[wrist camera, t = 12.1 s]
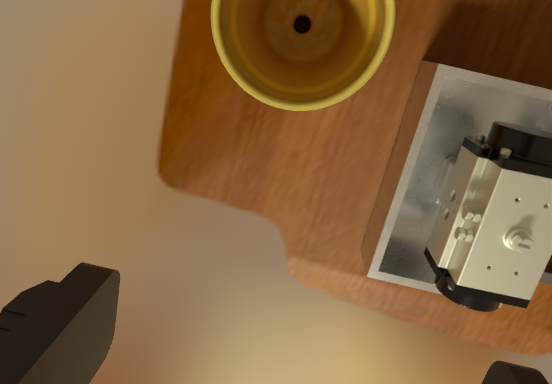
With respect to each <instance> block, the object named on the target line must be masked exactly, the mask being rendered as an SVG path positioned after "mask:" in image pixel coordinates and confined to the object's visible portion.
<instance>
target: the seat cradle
mask: <svg viewBox="0 0 552 384" xmlns="http://www.w3.org/2000/svg"><path fill="white" fill-rule="evenodd" d="M494 121H501V122H507V123H513V124H518V125H522V126H527V127H531V128H535V129H539V130H542V131H546V132H550V133H552V90H550V89H546V88H541V87H537V86H533V85H529V84H524V83H520V82H516V81H512V80H507V79H503V78H499V77H494V76H490V75H486V74H482V73H477V72H473V71H469V70H465V69H460V68H456V67H452V66H447V65H443V64H439V63H434V62H428V61H423V60H422V61H421V64H420V67H419V70H418V73H417V76H416V79H415V82H414V85H413V88H412V92H411V95H410V98H409V101H408V104H407V107H406V110H405V113H404V116H403V119H402V123H401V126H400V129H399V132H398V135H397V138H396V141H395V144H394V147H393V150H392V154H391V157H390V160H389V163H388V166H387V169H386V172H385V175H384V178H383V181H382V184H381V188H380V191H379V194H378V197H377V200H376V203H375V206H374V209H373V212H372V215H371V219H370V222H369V225H368V228H367V231H366V234H365V237H364V240H363V243H362V246H361V253H362V258H363V262H364V266H365V270H366V275H367V277H370V278H374V279H379V280H383V281H387V282H392V283H396V284H400V285H404V286H409V287H413V288H417V289H422V290H426V291H430V292H434V293H439V294H442V293H441V292H440V291H439V290H438V289H437V288H436V286H435V283H434V280H435V277H436V275H435V274H434V272H433V270H432V268H431V266H430V264H429V262H428V261H427V259H426V257H425V255H424V251H425V248H426V245H427V242H428V240H429V237H430V234H431V231H432V228H433V225H434V223H435V220H436V217H437V214H438V211H439V208H440V206H441V203H435V201H434V198H435V197H434V196H433V193H434V190H435V187H436V184H437V181H438V178H439V176H440V173H441V170H442V167H443V164H444V161H445V159H448V157H449V156H451V157H455V158H457V157H458V154H459V152H460V149H461V146H462V143H463V140H464V137H468V135H470V136H475V137H477V134H482V135H485V136H486V138H485V139H487V137H488V134H489V132H490V129H491V126H492V123H493V122H494ZM456 160H457V159H456ZM502 304H503V303H500V305H499V308H501V306H502Z"/></svg>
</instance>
